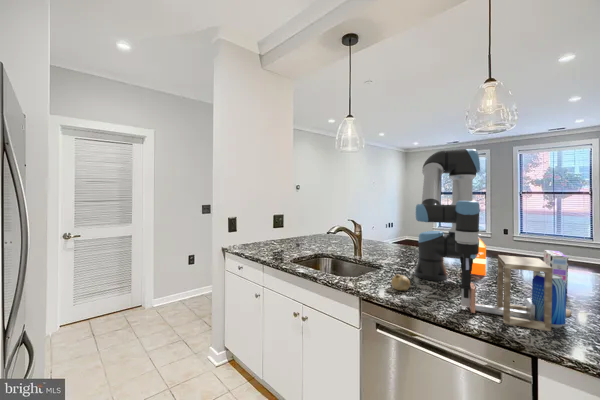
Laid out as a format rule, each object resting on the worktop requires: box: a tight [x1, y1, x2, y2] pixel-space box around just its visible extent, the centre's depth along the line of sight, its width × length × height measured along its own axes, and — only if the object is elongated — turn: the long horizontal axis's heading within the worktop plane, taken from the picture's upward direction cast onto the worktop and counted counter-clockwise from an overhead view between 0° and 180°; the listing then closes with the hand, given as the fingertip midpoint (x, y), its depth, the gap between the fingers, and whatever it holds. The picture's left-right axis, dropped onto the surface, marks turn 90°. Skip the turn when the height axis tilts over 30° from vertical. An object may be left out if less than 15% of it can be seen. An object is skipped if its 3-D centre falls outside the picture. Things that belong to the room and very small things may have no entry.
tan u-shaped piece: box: [469, 282, 535, 321], centre depth 98 cm, size 18×7×9 cm, turn 62°
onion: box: [390, 273, 411, 292], centre depth 124 cm, size 8×8×7 cm
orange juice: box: [471, 237, 487, 276], centre depth 150 cm, size 8×9×20 cm
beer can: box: [531, 272, 567, 329], centre depth 92 cm, size 8×8×16 cm
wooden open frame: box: [496, 254, 553, 332], centre depth 95 cm, size 12×14×20 cm
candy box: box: [543, 249, 569, 296], centre depth 123 cm, size 14×6×16 cm, turn 148°
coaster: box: [566, 308, 572, 318], centre depth 102 cm, size 11×11×1 cm
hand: (465, 305), depth 103 cm, fingers closed
